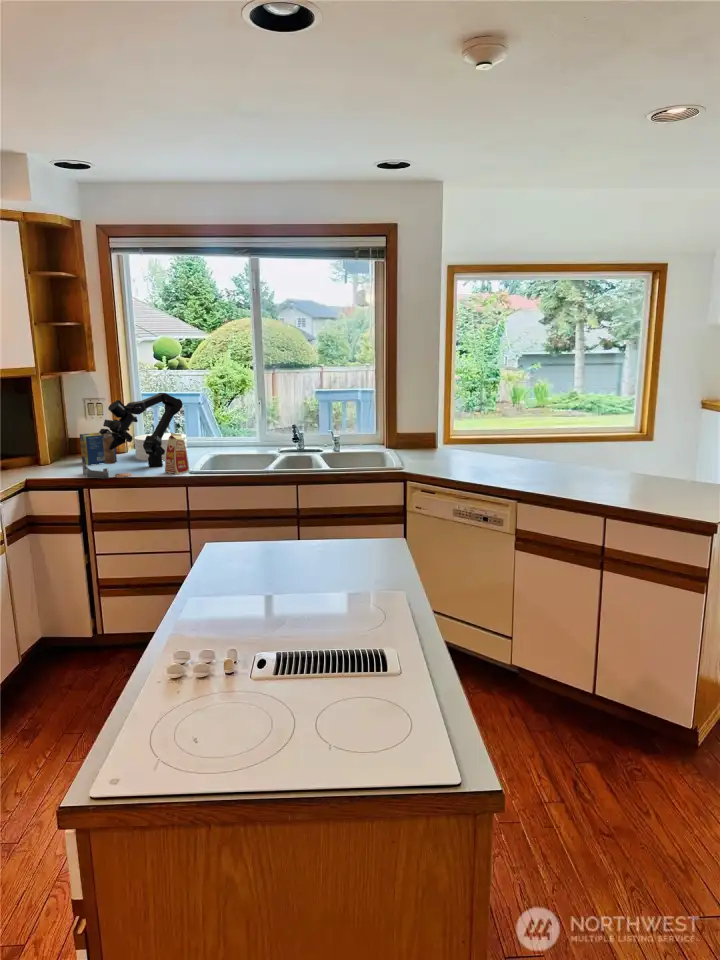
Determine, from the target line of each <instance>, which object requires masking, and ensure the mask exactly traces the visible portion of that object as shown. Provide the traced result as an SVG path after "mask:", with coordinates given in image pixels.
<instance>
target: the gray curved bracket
mask: <svg viewBox="0 0 720 960" xmlns="http://www.w3.org/2000/svg"><path fill="white" fill-rule="evenodd" d="M82 474H83V475H84V476H86V475H87V476H88V478H94V479H103V480H106V479H107V480H108V479H110V478H109V477H110V476H109V468H106V467H105V468H103V469H102V471H101V470H94V469H93V470H91V468H88V465H87V464H85V463H83V464H82ZM87 476H86V477H87Z"/></svg>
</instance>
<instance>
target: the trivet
mask: <svg viewBox="0 0 720 960" xmlns="http://www.w3.org/2000/svg"><path fill="white" fill-rule="evenodd" d="M131 475H132V476H133V474H132V473H131V472H119V473H115V474H114V475H113V477H114V476H115V477H114V478H116V479H117V478H118V479H121V478H122V479H123V478H124V477H125V478H129V477H128V476H131ZM132 476H131V477H132ZM125 478H124V479H125Z"/></svg>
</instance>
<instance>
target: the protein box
mask: <svg viewBox="0 0 720 960" xmlns="http://www.w3.org/2000/svg"><path fill="white" fill-rule="evenodd" d="M103 438H104V436H103V435H102V434H100V433H99V432H91V433H80V434H79V442H80V443H79V444H80V451H81V462H83V464H87V466H92V465H91V464H96V465H100V464H99V463H104V464H105V459H104V449H103V448H102V447H103ZM113 440H114V438H113ZM114 451H115V463H117V462H118V461H117V460H118V459H117V447H116V448H114Z"/></svg>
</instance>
